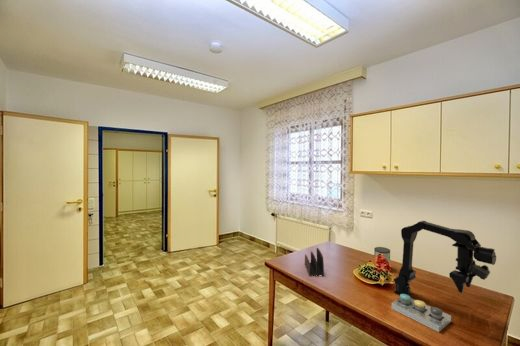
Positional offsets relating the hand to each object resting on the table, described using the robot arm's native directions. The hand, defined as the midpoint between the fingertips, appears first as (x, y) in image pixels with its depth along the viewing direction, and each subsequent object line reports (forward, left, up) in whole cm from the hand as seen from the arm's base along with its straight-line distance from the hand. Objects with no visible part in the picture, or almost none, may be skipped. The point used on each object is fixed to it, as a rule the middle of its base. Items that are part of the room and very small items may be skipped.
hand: (464, 289), depth 114 cm
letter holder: (-79, -20, -15) cm, 83 cm away
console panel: (-13, -14, -15) cm, 24 cm away
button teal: (-20, -13, -13) cm, 28 cm away
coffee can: (-53, +22, -15) cm, 60 cm away
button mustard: (-13, -13, -13) cm, 23 cm away
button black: (-6, -13, -13) cm, 20 cm away
